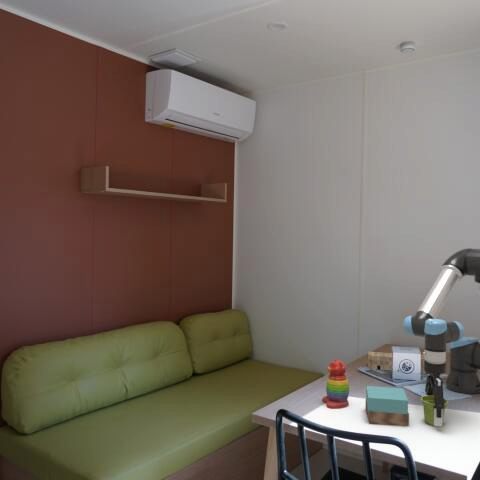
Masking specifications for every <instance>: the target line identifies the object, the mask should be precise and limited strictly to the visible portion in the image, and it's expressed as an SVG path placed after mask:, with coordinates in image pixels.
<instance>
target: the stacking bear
mask: <svg viewBox="0 0 480 480" xmlns="http://www.w3.org/2000/svg"><path fill="white" fill-rule="evenodd" d="M346 369H347V368H346V364H345V363H344V362H343V361H342V360H338V359H334V360H333V361H331V363H330V364H329V366H327V372H328V373H329V375H328V377H327V380H326V384H325V391H326V395H325V396H323V397H322V399H321V400H322V402H323V403H325V404H326V408H327V409H331V410H332V409H335V410H336V409H343V408H347V407H348V406H349V403H350V402H349V400H348V399H349V394H350V384H349V379H348V378H347V376H346V375H345V373H346Z"/></svg>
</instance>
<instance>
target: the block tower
mask: <svg viewBox="0 0 480 480" xmlns="http://www.w3.org/2000/svg"><path fill="white" fill-rule="evenodd" d="M392 353H393V352H392ZM392 353H391V352H380V351H379V352H378V351H375V352H374V351H368V356H367V357H368V363H367V364H368V369H371V370H372V369H377V370H378V366H379V369H380V371H384V370H392V358H393V356H392ZM420 355H421V373H423V375H425V374H426V372H425V371H424V361H425V359H424V354H420ZM421 373H420V374H421Z"/></svg>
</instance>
